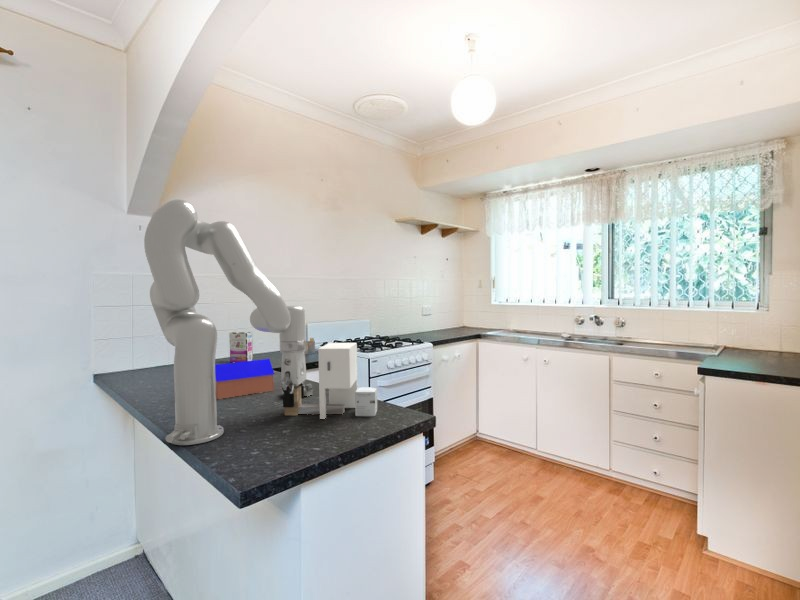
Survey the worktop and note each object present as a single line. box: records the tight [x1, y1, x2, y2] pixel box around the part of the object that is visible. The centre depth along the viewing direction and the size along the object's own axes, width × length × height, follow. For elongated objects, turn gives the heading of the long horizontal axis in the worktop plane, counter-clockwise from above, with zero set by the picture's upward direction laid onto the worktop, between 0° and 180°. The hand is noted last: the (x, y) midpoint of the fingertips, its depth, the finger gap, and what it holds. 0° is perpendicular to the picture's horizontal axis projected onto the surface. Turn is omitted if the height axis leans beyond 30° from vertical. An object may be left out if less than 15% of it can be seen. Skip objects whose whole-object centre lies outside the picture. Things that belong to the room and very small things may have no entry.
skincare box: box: [354, 386, 378, 417], centre depth 121 cm, size 6×6×7 cm
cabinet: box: [318, 342, 359, 420], centre depth 121 cm, size 14×9×20 cm, turn 177°
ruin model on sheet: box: [304, 337, 316, 355], centre depth 243 cm, size 11×3×10 cm, turn 118°
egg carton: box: [281, 382, 314, 398], centre depth 143 cm, size 11×8×4 cm
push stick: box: [283, 385, 345, 416], centre depth 122 cm, size 4×18×8 cm, turn 87°
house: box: [215, 358, 275, 400], centre depth 149 cm, size 12×20×12 cm, turn 125°
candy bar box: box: [229, 331, 254, 363], centre depth 215 cm, size 11×5×16 cm, turn 73°
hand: (293, 402), depth 122 cm, fingers open, 9 cm apart
